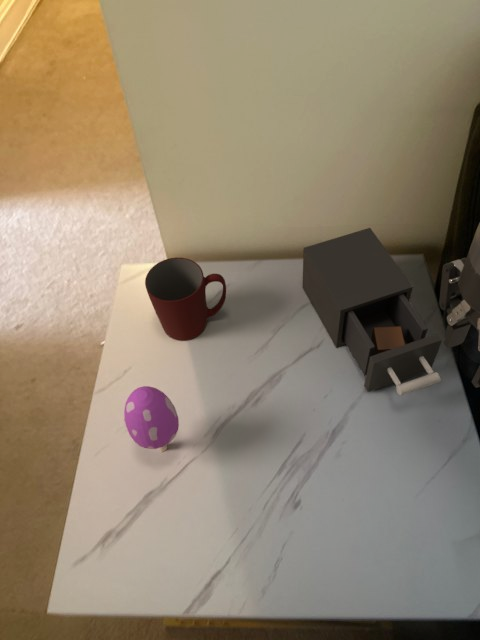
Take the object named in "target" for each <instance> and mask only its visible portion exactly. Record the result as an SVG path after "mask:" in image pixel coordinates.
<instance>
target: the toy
mask: <svg viewBox="0 0 480 640" xmlns="http://www.w3.org/2000/svg"><path fill="white" fill-rule="evenodd" d="M123 417H124V424H125V427H126V429H127V432H128V434H129V436H130V438H131V439H132V440H133V442H134V443H135V444H136V445H137V446H139V447H141V448H143V449H148V450H156V449H159V451H160V452H166V451H167V450H168V444H169V443H171V442H172V441H173V440H174V439H175V437H176V435H177V433H178V431H179V426H180V424H179V421H180V420H179V416H178V413H177V409H176V407H175V405H174V404H173V402H172V401H171V399H170V398H169V396H168V395H167V394H165V393H164V392H163V391H161V389H158V388H157V387H153V386H148V385H144V386H139V387H137V388H135V389H134V390H133V391H132V392H131V393H129V395H128V397H127V398H126V400H125V404H124V410H123Z"/></svg>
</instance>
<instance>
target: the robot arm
mask: <svg viewBox="0 0 480 640" xmlns="http://www.w3.org/2000/svg"><path fill="white" fill-rule="evenodd" d="M440 281H441V282H440V289H439V290H440V291H439V299H438V300H439V301H438V305H439V307H440V309H441V310H442V311H446V313H447V314H448V315H446V322H447V326H446V329H445V332H444V340H443V344H444V346H445V347H446V348H447V349H451V348H453V347H456V346H459V345H461V344H463V343H464V342H465V340H466V337H467V335H468V332H469V330H470V328H471V326H473V327H474V328H475V330H476V331H477V333H478V341H477V342H478V343H477V350H478V352H480V222H479V223H478V225H477V228H476V230H475V232H474V235H473V239H472V241H471V244H470V246H469V250H468V253H467V256H466V257H462V258H460V259H456V260H453V261H450V262H447V263H444V264H443V265H442V269H441V280H440ZM453 293H454V295H452V294H453ZM471 383H472V385H473V386H474V388H476V389H477V388H480V365H478V368H477V370H476V372H475V374H474V376H473V378H472V380H471Z"/></svg>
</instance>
